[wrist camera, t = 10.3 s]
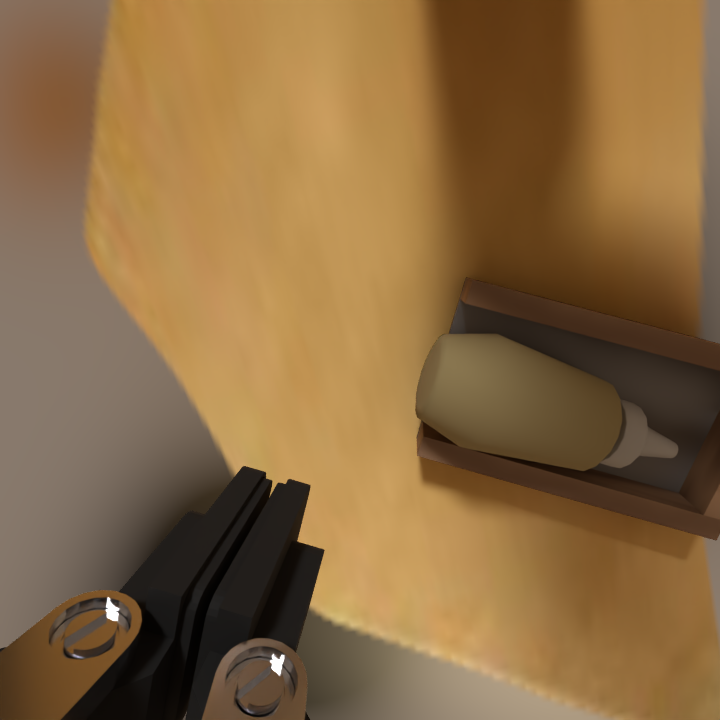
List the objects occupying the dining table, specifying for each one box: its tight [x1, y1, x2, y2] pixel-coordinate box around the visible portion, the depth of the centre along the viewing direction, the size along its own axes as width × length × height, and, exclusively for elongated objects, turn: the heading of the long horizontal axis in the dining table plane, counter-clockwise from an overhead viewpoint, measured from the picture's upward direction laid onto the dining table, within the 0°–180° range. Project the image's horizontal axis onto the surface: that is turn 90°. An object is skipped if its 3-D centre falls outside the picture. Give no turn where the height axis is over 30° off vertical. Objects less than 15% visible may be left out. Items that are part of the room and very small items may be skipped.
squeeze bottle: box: [415, 334, 678, 471], centre depth 30 cm, size 8×8×18 cm
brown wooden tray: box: [417, 278, 720, 540], centre depth 32 cm, size 13×22×4 cm, turn 75°
